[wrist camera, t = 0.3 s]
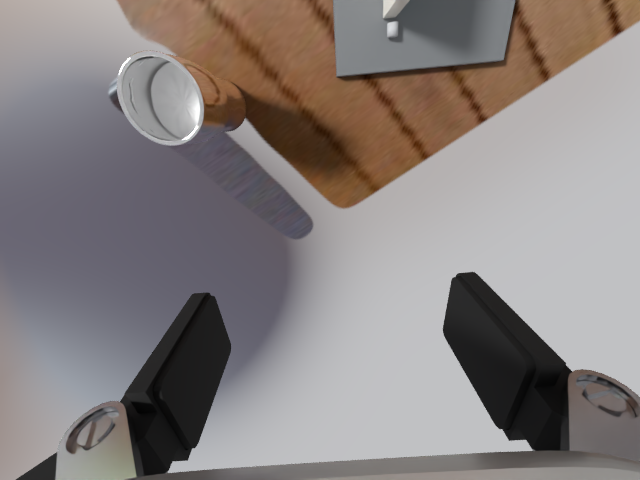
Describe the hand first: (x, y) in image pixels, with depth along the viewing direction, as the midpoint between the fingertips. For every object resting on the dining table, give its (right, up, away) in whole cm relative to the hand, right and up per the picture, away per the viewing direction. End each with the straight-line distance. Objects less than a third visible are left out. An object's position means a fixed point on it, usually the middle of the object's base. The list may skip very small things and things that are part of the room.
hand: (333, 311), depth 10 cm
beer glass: (-13, +21, +23) cm, 34 cm away
